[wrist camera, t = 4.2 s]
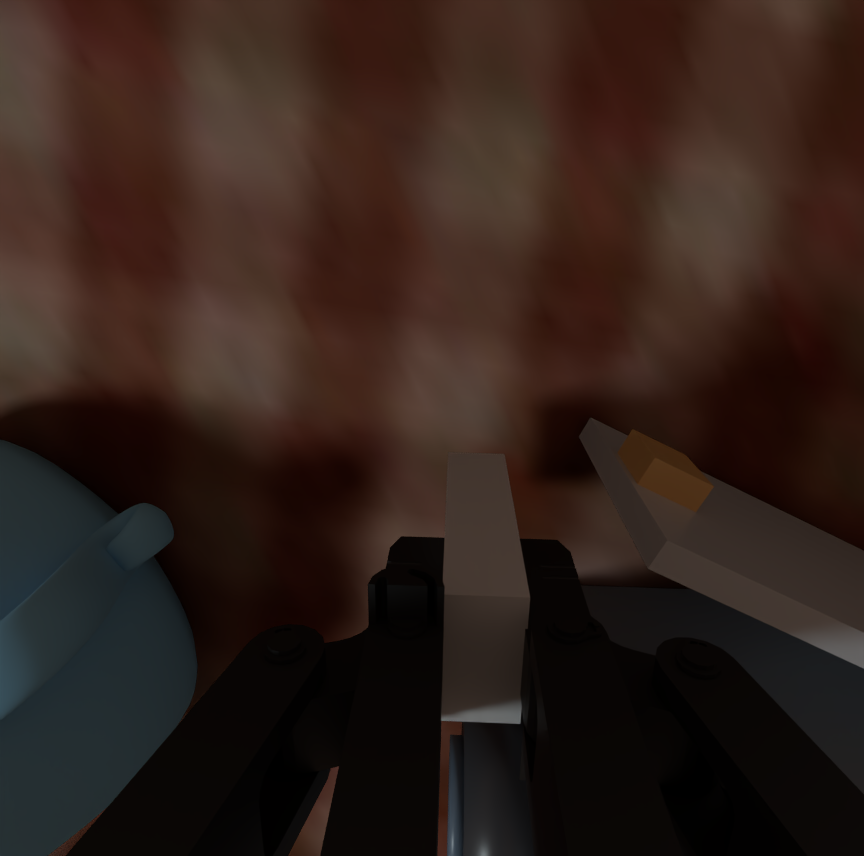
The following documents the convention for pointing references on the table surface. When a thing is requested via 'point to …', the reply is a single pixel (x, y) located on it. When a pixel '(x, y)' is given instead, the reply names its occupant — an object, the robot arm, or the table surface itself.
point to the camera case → (644, 631)
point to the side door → (732, 543)
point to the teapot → (80, 651)
